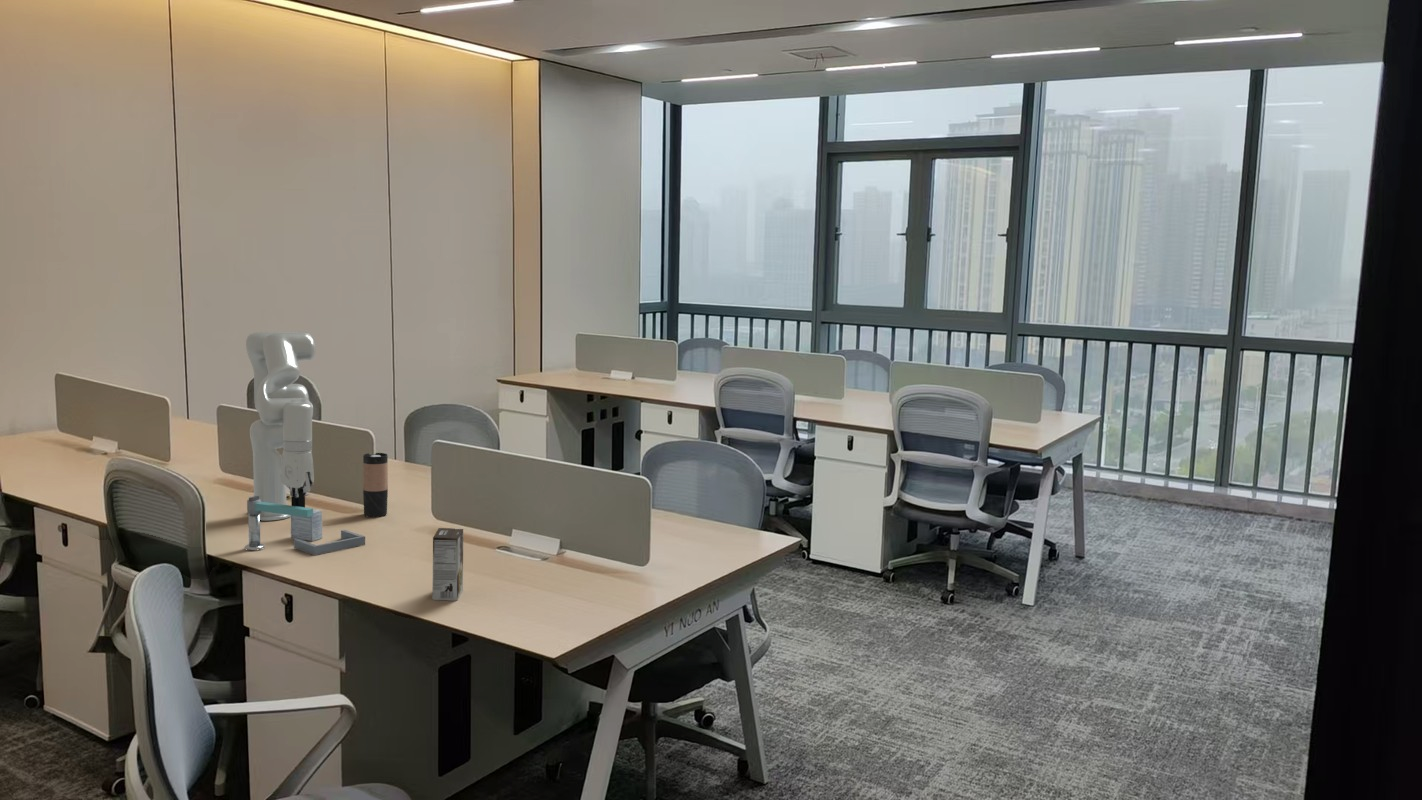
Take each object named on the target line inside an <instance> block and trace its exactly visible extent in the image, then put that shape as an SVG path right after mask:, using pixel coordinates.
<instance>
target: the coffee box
mask: <svg viewBox="0 0 1422 800" xmlns="http://www.w3.org/2000/svg"><path fill="white" fill-rule="evenodd" d="M463 589H464V528H452V527H451V528H450V527H440V528H438V529H437V531H436V532H435V534H434V536H432V601H458V599H460V595H461V594H462V591H463Z"/></svg>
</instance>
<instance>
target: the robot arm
mask: <svg viewBox="0 0 1422 800" xmlns="http://www.w3.org/2000/svg"><path fill="white" fill-rule="evenodd" d="M245 348H246V353H247V356H248V358H249V361H250V363H251V366H252V369H253V388H254V389H253V390H254V391H253V397H254V398H253V399H254V407H255V410H256V412H257V413H258V416H259V418H260V419H257V420H255V421H253V422H252V423H251V425H250V426H249V437H250V443H251V450H252V461H253V462H252V467H253V496H259V499H260V500H261V502H267V503H275V504H283V505H287V488H288V490H289V493H290V494H289V496H291V497H290V498H291V499H290V500H291V501H290V502H291V504H290V506H298V507H306V496H307V493H311V487H313V486H314V481H315V473H314V472H315V471H314V460H313V453H312V452H313V416H314V406H313V403H312V402H311V401H310V396H309V392H308V388H307V387H306V386H304V385H303V384H301V383H295V382H297V380H298V379H299V377H300V373H301V372H300V367H299V363H298V361H312V360H313V358H314V357H315V356H316V342H315V340H314V338H313V336H312V335H311V334H310V333H308V332H304V331H257V332H252V333H249V334H248V335H247V337H246V340H245ZM278 449H283V450H282V454H281V453H280V452H279V451H278ZM288 518H291V515H286V514H279V513H271V512H263V511H261V513H260V520H261V521H262V522H265V521H266V522H267V521H268V522H269V521H278V520H279V521H280V520H284V519H288ZM261 521H260V522H261Z"/></svg>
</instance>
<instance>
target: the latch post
mask: <svg viewBox="0 0 1422 800" xmlns="http://www.w3.org/2000/svg"><path fill="white" fill-rule="evenodd" d="M247 515H248V544H246V545H245V546H244V549H247V550H257V549H262V548H264V549H265V544H263V543H261V521H260V514H256V515H250V514H247ZM247 550H246V551H247ZM262 550H263V549H262Z"/></svg>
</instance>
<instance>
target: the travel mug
mask: <svg viewBox="0 0 1422 800" xmlns="http://www.w3.org/2000/svg"><path fill="white" fill-rule="evenodd" d="M362 458H363V459H362V460H363V461H362V462H363V466H362V467H363V470H362V474H363V477H362V482H363V483H362V494H363V495H362V496H363V497H362V498H363V515H365V516H364V517H366V516H368V517H367V518H381V517H380V516H383V517H385V516H384V515H386V514H387V515H388V491H389V490H388V489H389V488H388V487H389V481H388V479H389V478H388V474H389V473H388V471H389V469H388V467H389V465H388V462H389V461H388V454H387V453H384V452H376V453H375V454H370V453H364V454H363V457H362ZM387 515H386V516H387Z"/></svg>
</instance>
